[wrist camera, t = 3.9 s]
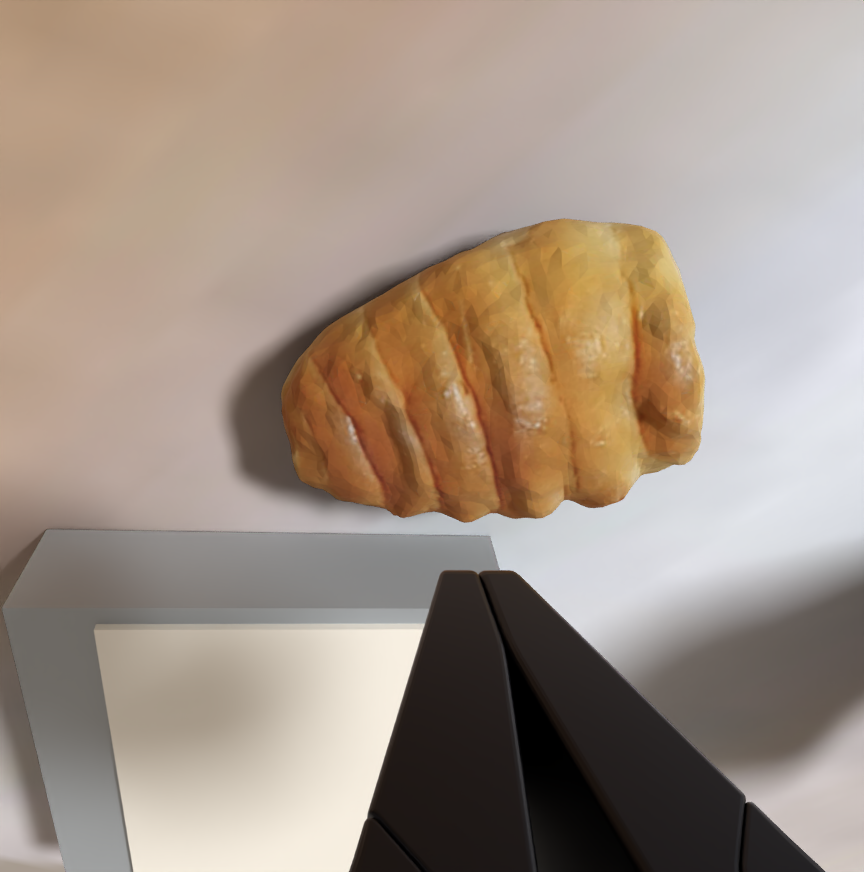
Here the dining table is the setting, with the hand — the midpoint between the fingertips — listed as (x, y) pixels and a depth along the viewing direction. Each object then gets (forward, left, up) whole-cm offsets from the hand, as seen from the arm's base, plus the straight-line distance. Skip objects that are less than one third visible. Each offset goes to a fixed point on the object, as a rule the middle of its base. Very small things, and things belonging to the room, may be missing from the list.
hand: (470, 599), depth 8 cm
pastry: (0, 0, -11) cm, 11 cm away
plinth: (+3, +13, -10) cm, 17 cm away
